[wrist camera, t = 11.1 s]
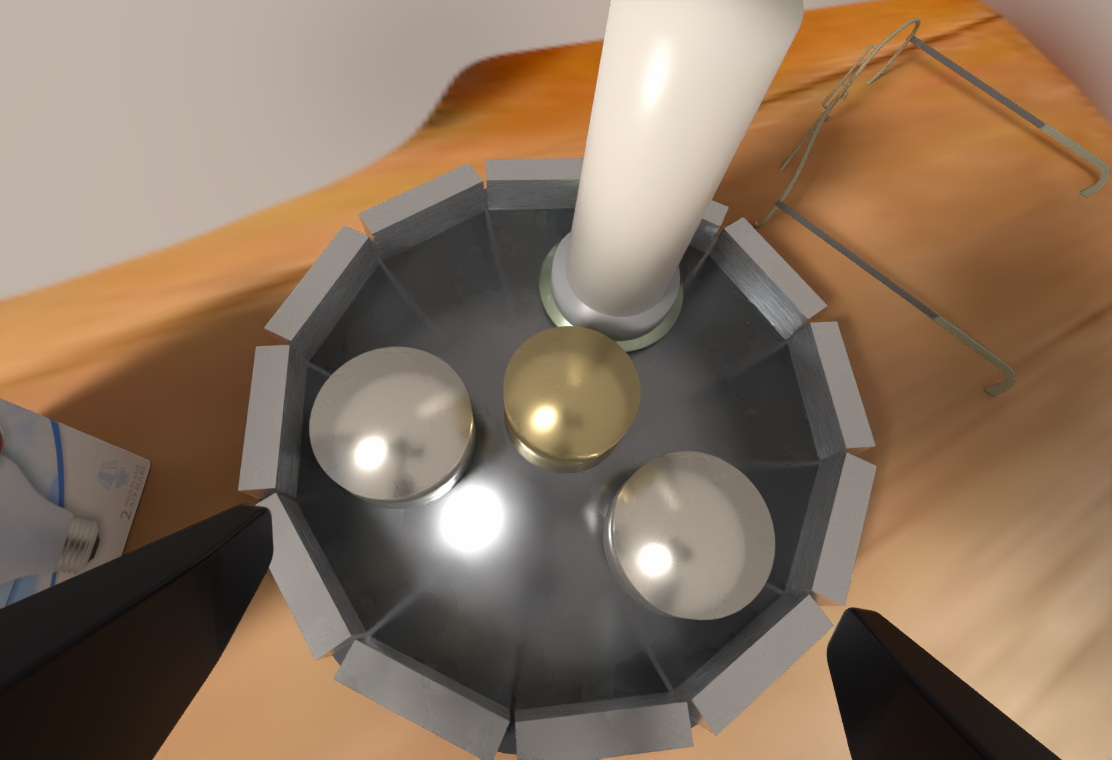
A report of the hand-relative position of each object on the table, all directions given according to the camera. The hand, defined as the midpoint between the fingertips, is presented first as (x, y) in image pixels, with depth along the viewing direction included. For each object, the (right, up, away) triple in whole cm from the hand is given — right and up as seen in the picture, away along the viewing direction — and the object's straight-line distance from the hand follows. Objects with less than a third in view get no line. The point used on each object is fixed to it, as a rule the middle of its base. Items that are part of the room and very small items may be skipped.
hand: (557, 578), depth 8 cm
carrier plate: (0, +1, +15) cm, 15 cm away
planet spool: (+2, +7, +16) cm, 18 cm away
